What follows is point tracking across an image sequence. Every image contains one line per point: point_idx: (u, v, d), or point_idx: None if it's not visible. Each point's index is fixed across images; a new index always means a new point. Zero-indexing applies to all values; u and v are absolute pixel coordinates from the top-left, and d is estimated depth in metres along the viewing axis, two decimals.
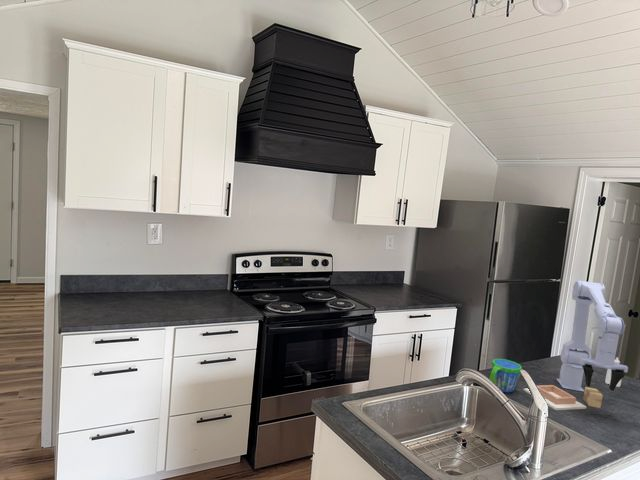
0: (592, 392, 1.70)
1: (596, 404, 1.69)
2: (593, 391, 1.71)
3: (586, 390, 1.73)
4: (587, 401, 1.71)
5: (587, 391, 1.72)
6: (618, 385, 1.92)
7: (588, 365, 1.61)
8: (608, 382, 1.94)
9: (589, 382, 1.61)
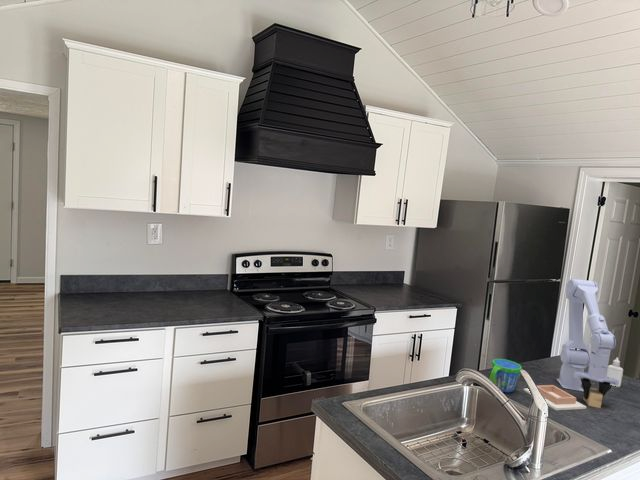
0: (592, 392, 1.70)
1: (596, 404, 1.69)
2: (593, 391, 1.71)
3: None
4: (587, 401, 1.71)
5: None
6: (618, 385, 1.92)
7: (586, 379, 1.71)
8: None
9: (587, 395, 1.71)
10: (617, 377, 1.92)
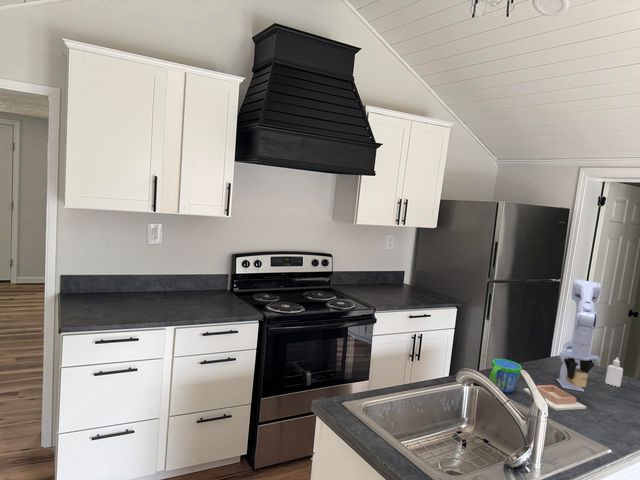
0: (577, 372, 1.69)
1: (582, 383, 1.68)
2: (577, 370, 1.70)
3: None
4: (572, 381, 1.70)
5: None
6: (618, 385, 1.92)
7: (571, 359, 1.69)
8: (608, 382, 1.94)
9: (572, 375, 1.69)
10: (617, 377, 1.92)
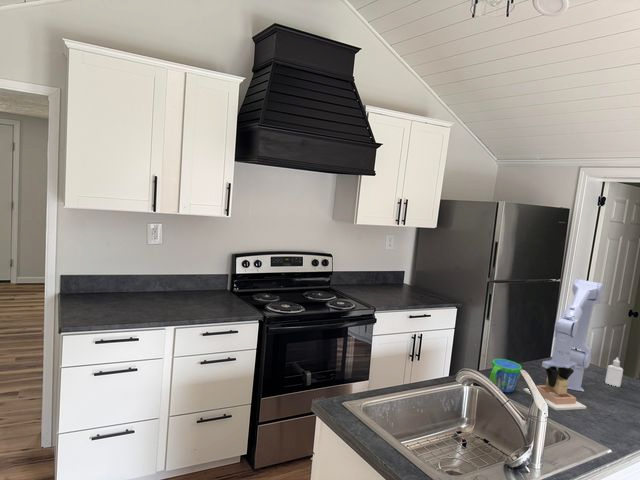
0: (559, 379, 1.69)
1: (563, 390, 1.69)
2: (558, 378, 1.70)
3: None
4: (554, 389, 1.70)
5: None
6: (618, 385, 1.92)
7: (553, 367, 1.69)
8: (608, 382, 1.94)
9: (554, 383, 1.69)
10: (617, 377, 1.92)
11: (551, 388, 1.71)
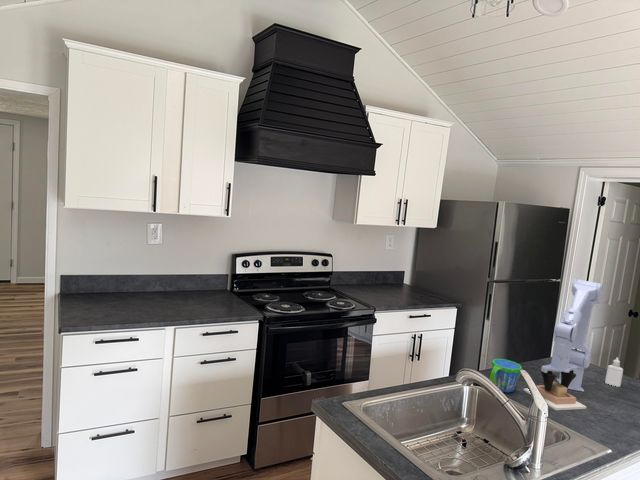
0: (558, 386, 1.69)
1: None
2: (557, 385, 1.71)
3: None
4: None
5: None
6: (618, 385, 1.92)
7: (549, 372, 1.69)
8: (608, 382, 1.94)
9: (550, 387, 1.69)
10: (617, 377, 1.92)
11: None
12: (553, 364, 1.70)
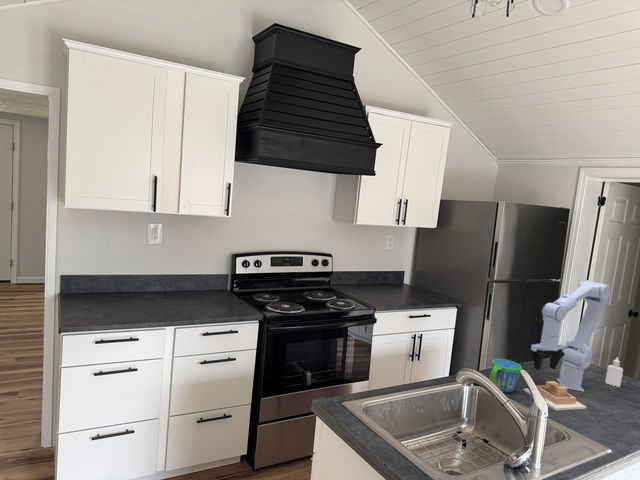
0: (558, 386, 1.69)
1: None
2: (557, 385, 1.71)
3: (549, 385, 1.72)
4: None
5: (551, 386, 1.71)
6: (618, 385, 1.92)
7: (539, 350, 1.74)
8: (608, 382, 1.94)
9: (540, 365, 1.74)
10: (617, 377, 1.92)
11: None
12: (542, 343, 1.75)
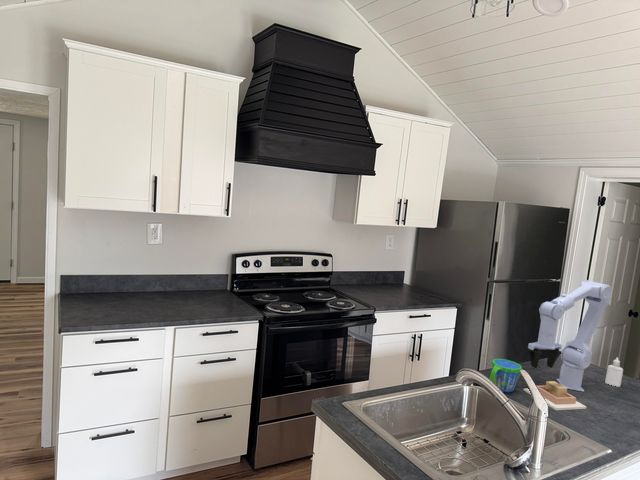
0: (558, 386, 1.69)
1: None
2: (557, 385, 1.71)
3: (549, 385, 1.72)
4: None
5: (551, 386, 1.71)
6: (618, 385, 1.92)
7: (536, 349, 1.75)
8: (608, 382, 1.94)
9: (536, 364, 1.76)
10: (617, 377, 1.92)
11: None
12: (539, 342, 1.77)
